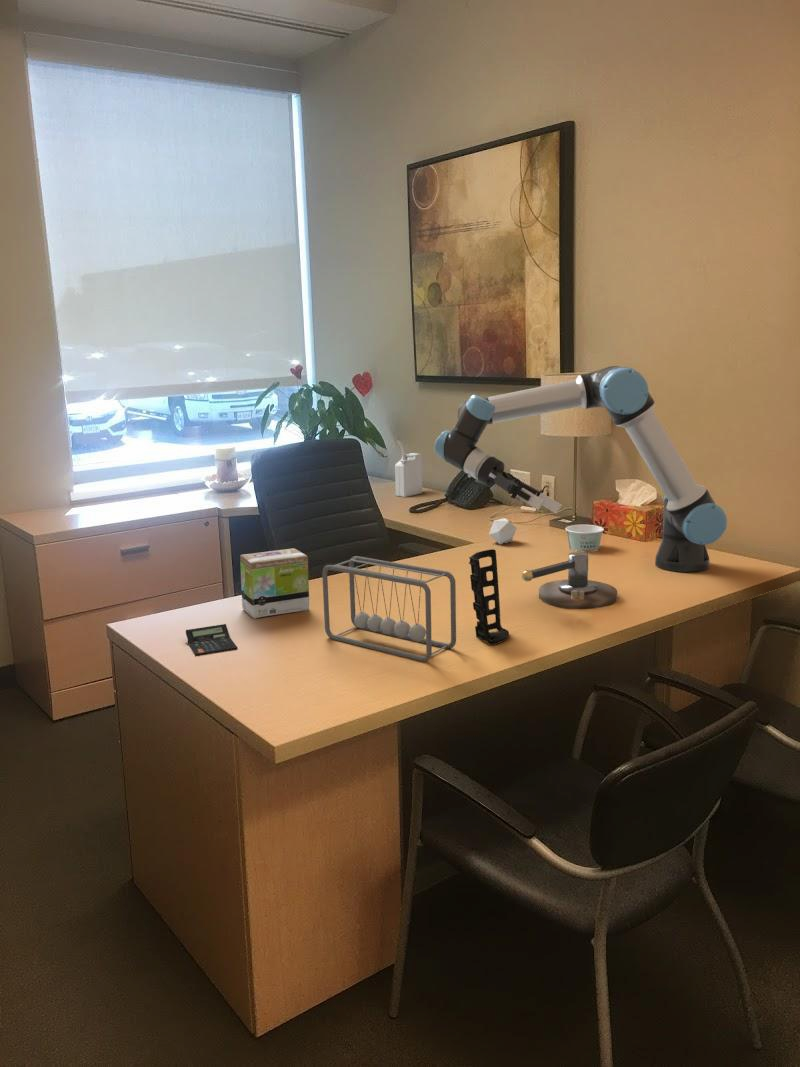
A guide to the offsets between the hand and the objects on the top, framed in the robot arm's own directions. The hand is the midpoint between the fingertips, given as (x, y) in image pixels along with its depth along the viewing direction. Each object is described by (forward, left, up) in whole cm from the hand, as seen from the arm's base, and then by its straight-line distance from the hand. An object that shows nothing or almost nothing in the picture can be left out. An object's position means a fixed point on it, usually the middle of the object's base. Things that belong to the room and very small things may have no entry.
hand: (550, 507), depth 224 cm
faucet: (-1, +5, -22) cm, 22 cm away
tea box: (+71, -6, -24) cm, 75 cm away
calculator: (+86, +17, -25) cm, 91 cm away
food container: (-27, -49, -24) cm, 61 cm away
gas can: (+13, -158, -24) cm, 161 cm away
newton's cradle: (+46, +25, -25) cm, 57 cm away
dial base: (-7, +1, -24) cm, 25 cm away
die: (-4, -63, -24) cm, 68 cm away
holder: (+23, +26, -24) cm, 42 cm away
